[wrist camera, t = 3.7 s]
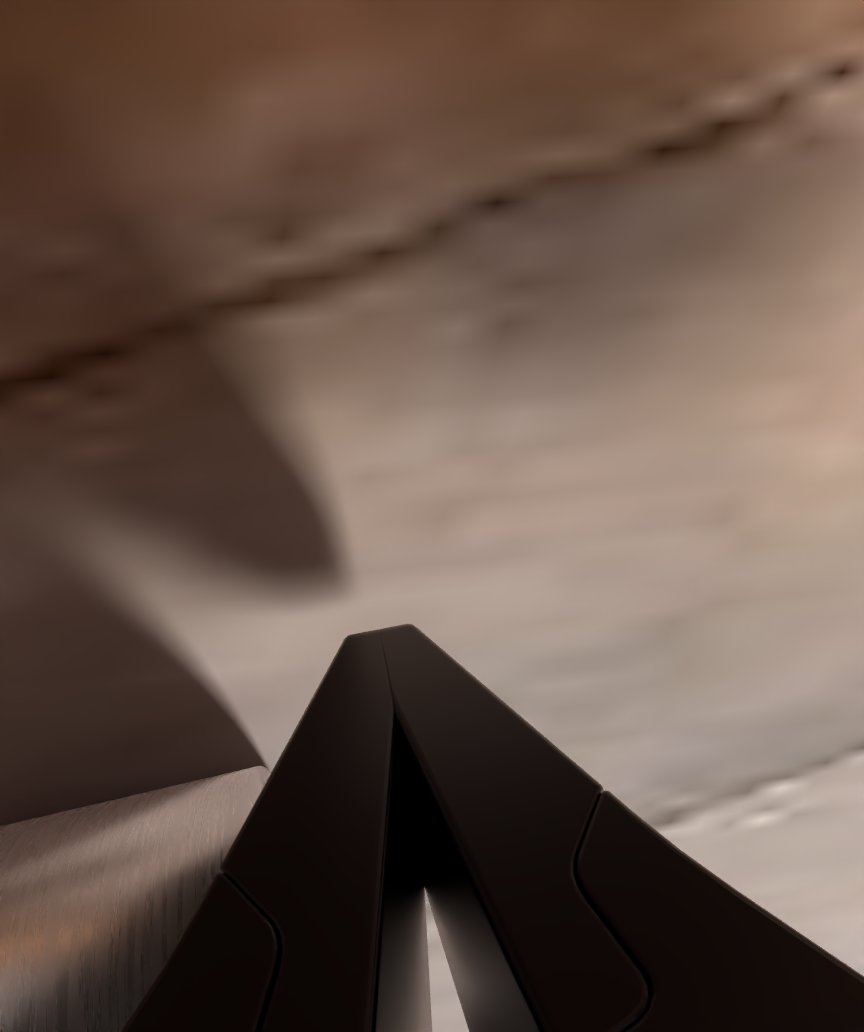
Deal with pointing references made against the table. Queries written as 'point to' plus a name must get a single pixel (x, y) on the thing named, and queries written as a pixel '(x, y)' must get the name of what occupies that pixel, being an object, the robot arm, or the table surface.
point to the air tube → (108, 898)
